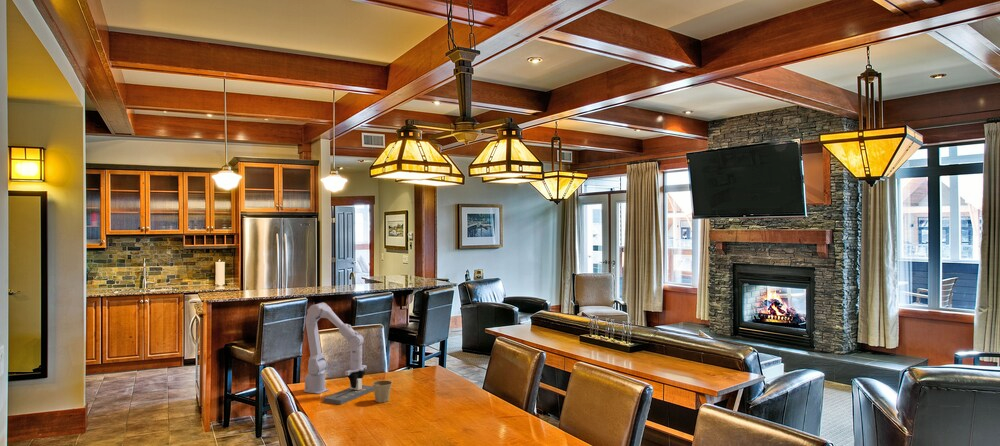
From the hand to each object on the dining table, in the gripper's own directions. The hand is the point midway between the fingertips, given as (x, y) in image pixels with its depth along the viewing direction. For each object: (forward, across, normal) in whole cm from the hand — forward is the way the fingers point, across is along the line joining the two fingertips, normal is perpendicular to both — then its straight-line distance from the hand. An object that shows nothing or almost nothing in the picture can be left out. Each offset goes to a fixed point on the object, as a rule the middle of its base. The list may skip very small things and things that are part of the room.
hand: (355, 386), depth 284 cm
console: (+3, -5, 0) cm, 6 cm away
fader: (+1, 0, 0) cm, 1 cm away
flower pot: (+4, -5, -19) cm, 20 cm away
